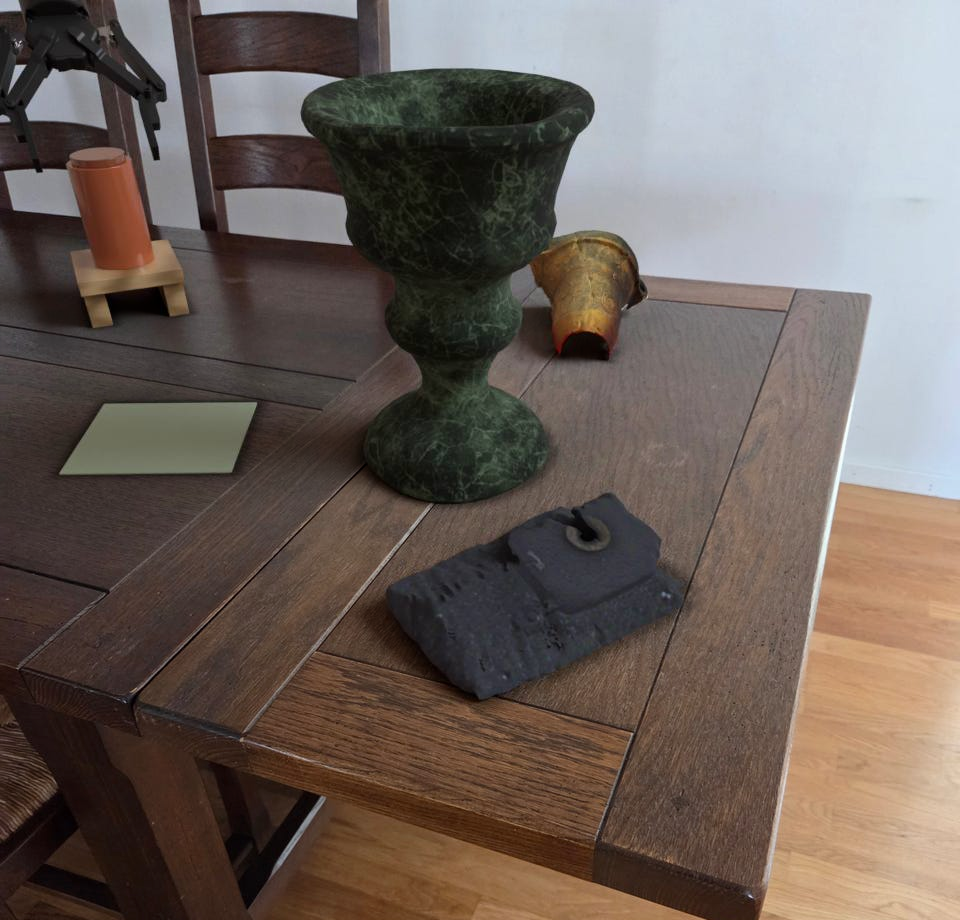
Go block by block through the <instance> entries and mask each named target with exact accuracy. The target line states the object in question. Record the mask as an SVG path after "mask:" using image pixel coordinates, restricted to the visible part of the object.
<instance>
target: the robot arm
mask: <svg viewBox="0 0 960 920" xmlns="http://www.w3.org/2000/svg"><path fill="white" fill-rule="evenodd" d="M18 4H19V7H20V12H21V15H22V19H23V22H24V25H25V28H24V31H11V30H10V28H9V27H8V26H6V25H0V117H1V116H4V117H5V116H6V117H7V118H8V119H9V122H10V125H11V129H12V132H13V135H14V138H15V140H16V142H17V143H18V144H26V143H27V147H28V150H29V154H30V157H31V161H32V164H33V167H34V169H35V173H36V174H41V173H44V170H43V166H42V163H41V162H42V161H41V160H40V159H41V158H40V155H39V152H38V148H37V145H36V142H35V139H34V134H33V131H32V128H31V125H30V124H31V123H30V121H29V118H28V114H27V112H26V110H27V108H28V106H29V104H30V103H31V102H32V100H33V98H34V96H35V95H36V93H37V92H38V90H39V88H40V87H41V85H42V83H43V82H44V80H45V79H48V77H49V76H50V75H51V73H52V71H53V70H55V71H58V73H65V72H68V71H79V72H80V71H86V68H88V67H89V68H90V69H92V71H95V72H96V73H97V74H99V75H103V76H104V77H105V78H107V79H108V80H109V81H111V82H112V83H113V84H115V85H116V86H117V87H119V89H121V90H122V91H124V92H125V93H127V95H129V96H130V97H132V98H133V99H134V100H136V101H137V104H138V110H139V115H140V117H141V121H142V125H143V128H144V131H145V135H146V138H147V141H148V146H149V149H150V152H151V156H152V160H153V161H154V162H155V161H156V162H157V161H161V156H160V155H161V154H160V147H159V143H158V140H157V137H156V132H157V131H161V129H162V128H161V118H160V114H159V111H158V106H157V104H158V103H166V102H167V101H168V95H167V94H168V92H167V84H166V82H165V80H164V79H163V78H162V77H161V76H160V74H158V72H157V71H156V70H155V69H154V68H153V67H152V65H151V64H150V62H148V60H147V59H145V57H144V56H143V55H142V54H141V53H140V52H139V50H137V48H136V47H135V46H134V44H132V42H131V41H130V40H129V39H128V38H127V37H126V34H125V33H124V31H123V28H122V25H121V23H120V22H119V20H117V19H115V18H112V19H110V20H109V23H108V24H109V25H107V26H100V27H97V25H96V24H94V23H93V20H92V19H91V15H90V11H89V8H88V5H87V1H86V0H18ZM101 42H104V43H106V44H107V45H108V46H109V47H110V48H111V50H116V52H117V54H118V55H119V57H120V58H121V59H122V61H123V62H125V64H126V65H127V67H129V68H130V70H131V71H132V72H133V73H134V74H133V73H132V72H131V71H130V70H128V69H127V68H126V67H125V66H123V65H122V64H121V63H119V62H118V61H117V60H115V59H114V58H113V57H111V56H110V55H109V54H107V53H106V52H105V50H104V48H103V47H102V46H101ZM24 47H27V48H28V49H29V51H31V52H30V58H29V60H28V62H27V63H26V65H25V66H24V68H23V69H22V70H21V73H20V74H19V76H18V77H17V79H16V81H15V82H14V84H13V86H12V87H11V83H12V80H13V76H14V72H15V68H16V65H17V57H19V56H20V55H21V52H22V50H23V48H24ZM10 87H11V89H10Z"/></svg>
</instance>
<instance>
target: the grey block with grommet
mask: <svg viewBox="0 0 960 920" xmlns="http://www.w3.org/2000/svg"><path fill="white" fill-rule="evenodd" d="M662 541H663V540H662V538H661V536H659V535H658V534H657V532H656V531H655V530H654V529H653V528H652V527H651V526H650V525H649V524H647V523H646V522H644V521H643V520H642V519H640V518H638V517H637V516H636V515H635V514H633V513H631V512H630V511H629V510H628V509H627V507H625V504H624V502H623V501H621V500H620V498H619V497H617V495H616V493H614V492H613V493H612V492H604V493H602V494H600V495H599V496H598V497H595V498H593V499H590V500H588V501H586V502H583V504H582V505H575V506H573V507H572V508H571V509H570V508H567V507H564V506H558V507H556V508H554V509H552V510H547V511H545V512H542V513H540V514H538V515H535V516H534V517H531V518H529V519H528V520H526V521H524V522H523V523H521V524H518V525H517V526H515V527H513V528H511V529H510V530H508V531H506V532H505V533H503V534H502V535H500V536H499V537H497V538H496V539H494V540H492V541H490V542H487V543H486V544H482V543H476V544H475V545H474V546H471V547H467V548H464V549H463V550H462V551H461V550H460V552H458V553H456V554H455V555H452V556H451V557H448V558H445V559H442V560H440V561H439V562H437V563H436V564H435V565H433V566H431V567H430V568H427V569H425V570H422V571H417V572H414V573H412V574H409V575H407V576H405V577H403V578H401V579H399V580H397V581H396V582H394V583H391V584H389V585H388V586H387V588H386V590H385V601H386V607H387V609H388V610H389V611H390V612H391V614H392V615H394V617H395V618H396V620H397V621H398V622H399V623H400V625H401V627H402V629H403V632H404V633H406V634H407V636H408V637H409V638H411V639H412V640H413V641H414V642H415V644H418V646H419V647H420V649H421V650H422V652H423V653H424V655H425V657H426V658H427V661H428V662H430V663H431V664H432V665H434V667H437V669H438V670H439V671H440V672H441V673H442V674H443V675H445V676H446V678H447V679H448V680H449V681H450V683H451V684H452V685H453V686H455V687H458V688H459V689H460V690H462V691H464V692H466V693H470V694H473V695H476V696H477V697H478V700H485V699H490V698H492V697H494V696H497V695H502V694H505V693H507V692H509V691H511V690H514V689H516V688H520V687H522V685H523V684H524V683H527V682H535V681H537V680H538V679H539V678H540V677H542V676H547V675H550V674H551V673H554V671H555V670H560V669H562V668H565V667H566V666H568V665H570V664H572V663H575V662H577V661H579V660H581V659H583V658H584V657H587V656H590V655H591V654H593V653H594V652H596V651H598V650H599V649H602V648H604V647H607V646H609V645H610V644H612V643H614V642H617V641H619V640H621V639H624V638H625V637H627V636H629V635H631V634H633V633H635V632H637V631H639V630H640V629H641V628H643V627H646V626H648V625H651V624H653V623H655V622H656V621H657V620H659V619H661V618H662V619H663V617H666V616H668V615H670V614H672V613H673V612H675V611H676V610H679V609H680V608H681V607H682V606H683V604H684V602H685V597H684V596H683V595H682V594H681V593H680V591H681V590H682V589H683V588H684V584H682V583H681V581H680V580H678V579H676V578H674V577H672V576H671V575H669V574H666V573H665V572H663V571H662V570H661V569H659V568H658V567H657V565H656V564H657V560H658V559H659V558H660V556H661V546H662Z"/></svg>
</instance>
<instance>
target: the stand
mask: <svg viewBox="0 0 960 920" xmlns="http://www.w3.org/2000/svg"><path fill="white" fill-rule="evenodd" d="M151 242H152V246H153V251H154V255H155V258H154V260H153V261H152V262H150V263H149V264H146V265H144V266H141V267H137V268H133V269H126V270H107V269H102V268H99V267H97V266H96V265H95V264H94V261H93V258H92V254H91V251H90V248H87V249H79V250H72V251H70V256H71V262H72V266H73V270H74V275H75V279H76V284H77V287H78V291H79V294H80V297H81V298H83V300H84V304H85V307H86V310H87V314H88V316H89V320H90V323H91V327H92V329H96V328H103V327H110V326H114V323H113V319H112V315H111V312H110V308H109V304H108V301H107V297H106V294H112V293H119V292H126V291H132V290H133V291H134V290H140V289H147V288H148V289H149V288H155V287H157V288H158V291H159V294H160V296H161V298H162V300H163V303H164V305H165V308H166V310H167V313H168V315H169V317H176V316H183V315H188V314H190V310H189V305H188V301H187V296H186V292H185V288H184V283H186V281H185V276H184V271H183V268H182V267H181V264H180V262H179V260H178V258H177V256H176V254H175V252H174V250H173V247H172V245H171V244H170V241H169V239H167V238H166V239H159V240H151Z"/></svg>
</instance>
